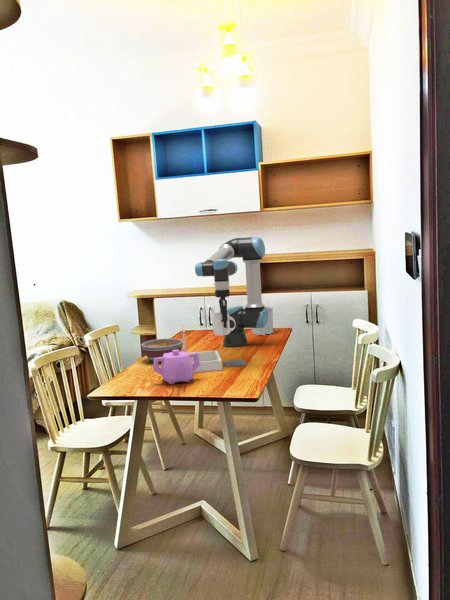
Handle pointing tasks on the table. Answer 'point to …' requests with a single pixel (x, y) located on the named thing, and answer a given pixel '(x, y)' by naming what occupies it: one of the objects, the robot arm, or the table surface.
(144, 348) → the bowl
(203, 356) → the cold frame
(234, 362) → the slate mat
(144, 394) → the table surface
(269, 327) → the utensil holder
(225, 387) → the table surface
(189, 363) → the purple rounded pot
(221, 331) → the mug
